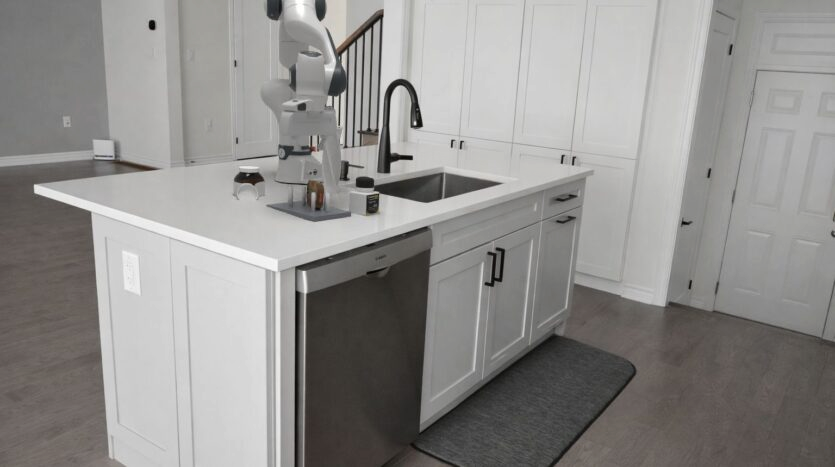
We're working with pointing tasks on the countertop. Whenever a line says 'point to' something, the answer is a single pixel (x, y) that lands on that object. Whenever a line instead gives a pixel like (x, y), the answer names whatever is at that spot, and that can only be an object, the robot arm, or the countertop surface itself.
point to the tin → (319, 193)
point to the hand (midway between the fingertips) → (309, 150)
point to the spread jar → (249, 183)
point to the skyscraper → (332, 162)
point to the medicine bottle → (364, 197)
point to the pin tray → (306, 211)
